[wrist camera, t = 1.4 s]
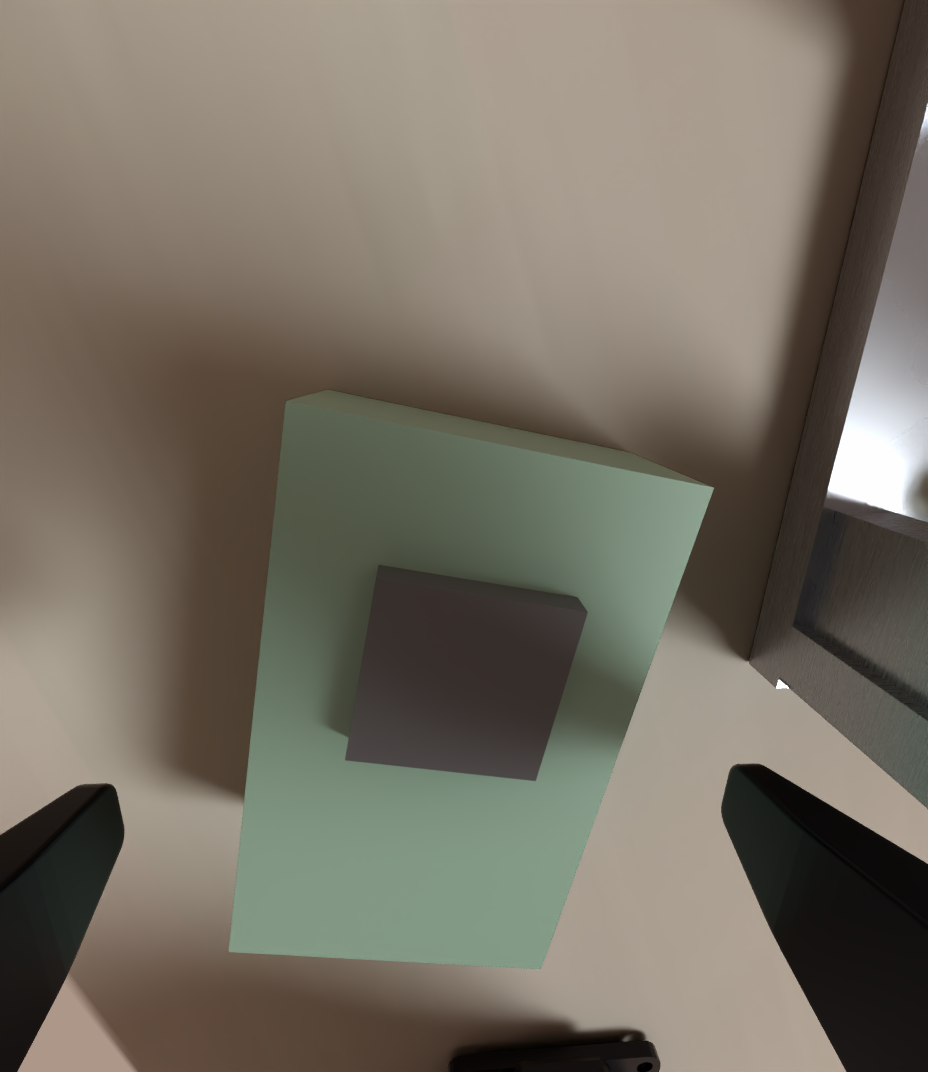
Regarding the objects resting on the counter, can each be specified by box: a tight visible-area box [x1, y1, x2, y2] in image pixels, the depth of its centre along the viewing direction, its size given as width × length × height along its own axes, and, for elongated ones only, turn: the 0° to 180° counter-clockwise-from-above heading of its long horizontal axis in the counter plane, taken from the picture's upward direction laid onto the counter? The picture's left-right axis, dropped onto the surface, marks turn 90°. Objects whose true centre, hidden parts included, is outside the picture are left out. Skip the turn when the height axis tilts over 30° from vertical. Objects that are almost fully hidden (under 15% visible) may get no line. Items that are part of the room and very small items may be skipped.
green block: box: [229, 390, 714, 969], centre depth 10 cm, size 10×6×4 cm, turn 168°
